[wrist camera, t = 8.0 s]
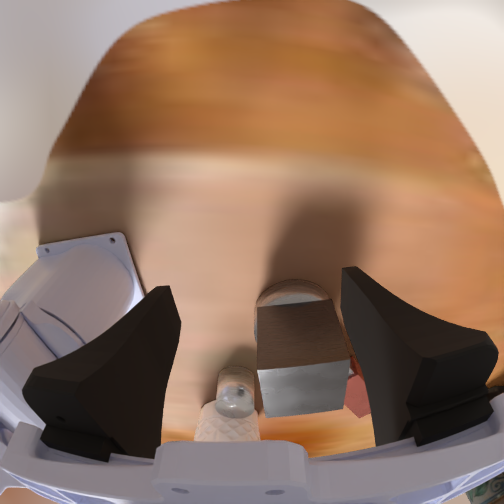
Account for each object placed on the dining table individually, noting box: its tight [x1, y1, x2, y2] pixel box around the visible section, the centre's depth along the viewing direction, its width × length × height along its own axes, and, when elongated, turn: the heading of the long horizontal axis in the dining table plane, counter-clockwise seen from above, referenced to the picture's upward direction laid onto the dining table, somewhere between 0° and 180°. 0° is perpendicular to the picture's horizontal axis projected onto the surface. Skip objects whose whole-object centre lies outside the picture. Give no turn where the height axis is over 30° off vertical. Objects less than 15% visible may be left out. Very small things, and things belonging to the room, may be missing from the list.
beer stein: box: [465, 386, 504, 504], centre depth 26 cm, size 16×19×25 cm
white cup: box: [194, 400, 260, 442], centre depth 29 cm, size 8×8×10 cm
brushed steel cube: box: [257, 299, 351, 418], centre depth 21 cm, size 5×5×6 cm
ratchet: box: [254, 280, 371, 418], centre depth 26 cm, size 20×6×6 cm, turn 37°
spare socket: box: [215, 366, 254, 419], centre depth 28 cm, size 4×4×4 cm
